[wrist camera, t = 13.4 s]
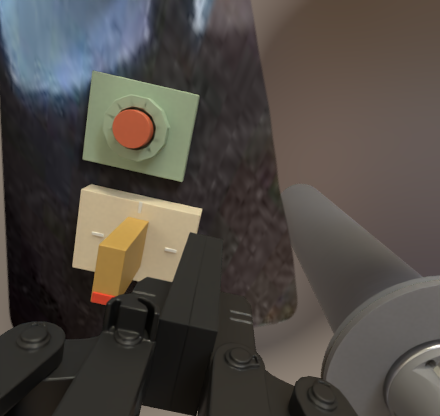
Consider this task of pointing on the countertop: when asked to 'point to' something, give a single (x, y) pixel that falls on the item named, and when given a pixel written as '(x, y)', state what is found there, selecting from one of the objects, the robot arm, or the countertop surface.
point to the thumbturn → (118, 260)
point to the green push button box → (161, 119)
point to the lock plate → (140, 209)
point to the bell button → (132, 128)
